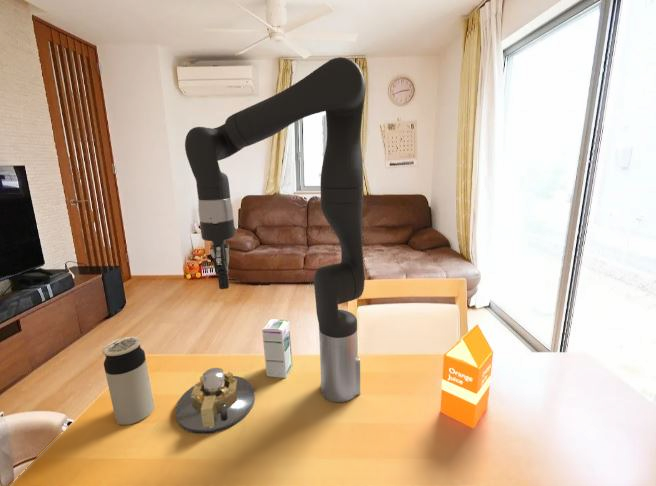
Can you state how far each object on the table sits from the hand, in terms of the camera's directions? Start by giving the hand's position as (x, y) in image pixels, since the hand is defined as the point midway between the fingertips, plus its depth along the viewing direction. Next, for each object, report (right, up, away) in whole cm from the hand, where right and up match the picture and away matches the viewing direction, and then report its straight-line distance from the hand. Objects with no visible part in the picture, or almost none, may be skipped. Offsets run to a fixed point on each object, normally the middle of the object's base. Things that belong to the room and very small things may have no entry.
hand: (224, 287), depth 82 cm
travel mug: (-20, -29, -3) cm, 36 cm away
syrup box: (+12, -25, +11) cm, 30 cm away
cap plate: (-1, -28, -1) cm, 28 cm away
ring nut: (-1, -27, -3) cm, 27 cm away
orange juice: (+57, -28, -5) cm, 63 cm away
